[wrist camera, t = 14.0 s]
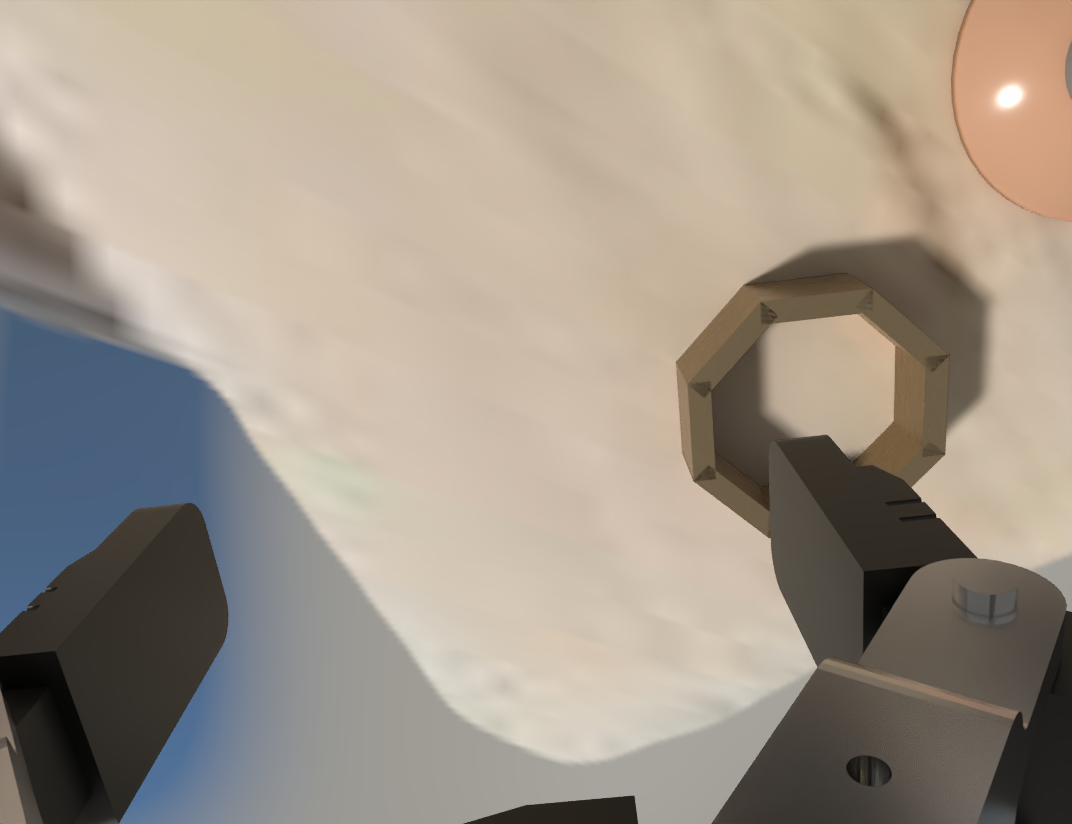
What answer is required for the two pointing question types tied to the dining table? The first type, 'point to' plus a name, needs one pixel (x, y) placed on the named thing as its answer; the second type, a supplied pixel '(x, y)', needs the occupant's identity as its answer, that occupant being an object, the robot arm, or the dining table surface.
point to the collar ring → (757, 306)
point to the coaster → (1017, 100)
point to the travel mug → (1069, 71)
